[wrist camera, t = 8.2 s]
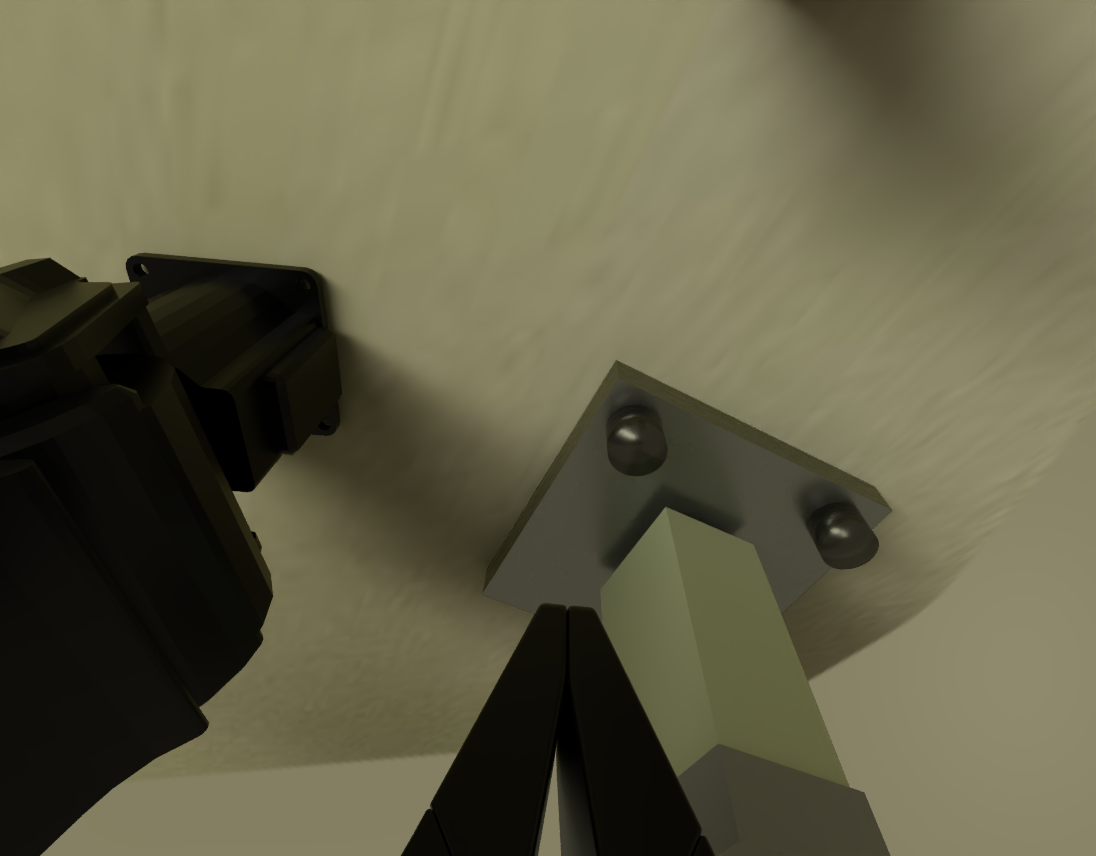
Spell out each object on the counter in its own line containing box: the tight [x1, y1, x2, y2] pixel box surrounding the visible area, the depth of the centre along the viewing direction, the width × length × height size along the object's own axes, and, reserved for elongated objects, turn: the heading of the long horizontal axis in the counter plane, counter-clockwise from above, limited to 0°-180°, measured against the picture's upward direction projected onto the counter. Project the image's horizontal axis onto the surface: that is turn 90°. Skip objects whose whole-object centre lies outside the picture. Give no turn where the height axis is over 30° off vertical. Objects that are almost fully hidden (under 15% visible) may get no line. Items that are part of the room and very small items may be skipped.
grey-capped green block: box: [600, 507, 890, 856], centre depth 17 cm, size 4×5×12 cm
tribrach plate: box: [482, 360, 892, 622], centre depth 23 cm, size 12×12×3 cm
